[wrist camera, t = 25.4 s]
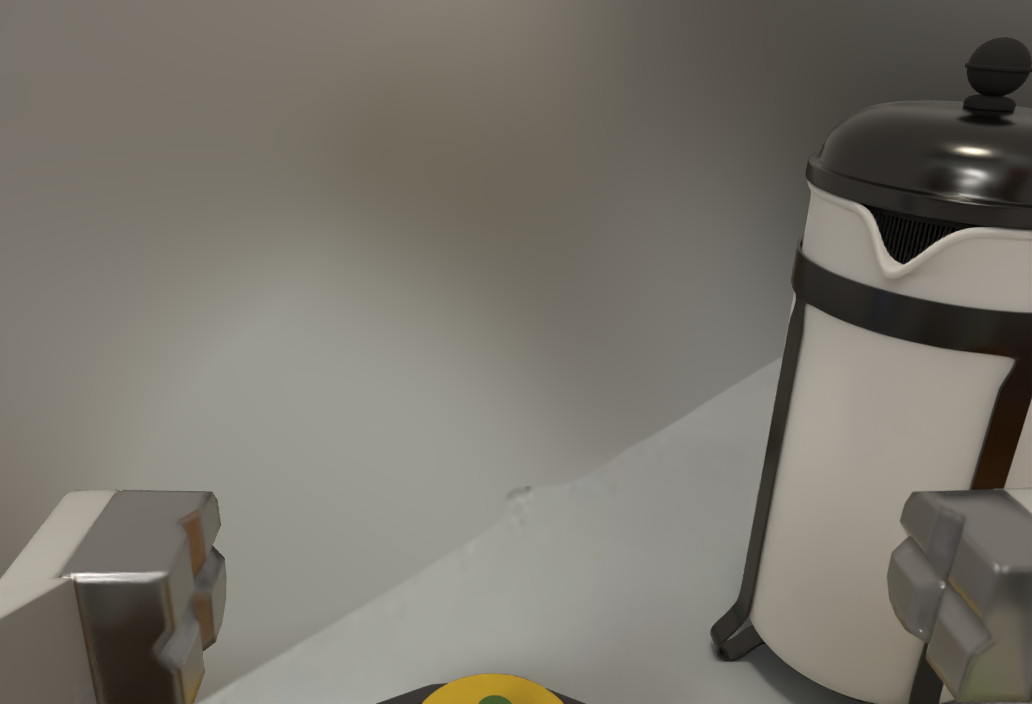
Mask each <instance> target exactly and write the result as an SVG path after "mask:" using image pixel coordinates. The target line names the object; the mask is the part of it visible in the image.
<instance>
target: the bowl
mask: <svg viewBox="0 0 1032 704" xmlns="http://www.w3.org/2000/svg"><path fill="white" fill-rule="evenodd" d="M446 684H448V683H443V684H433V685H430V686H425V687H422V688H420V689H417V690H414V691H411V692H408V693H405V694H402V695H400V696H397V697H394V698H391V699H388V700H385V701H382V702H379V703H377V704H422V703H423V702H424V700H426V699H427V698H428V697H429V696H430V695H431V694H432V693H434V692H435V691H436V690H438V689H439V688H441V687H443V686H444V685H446ZM546 689H547V688H546ZM547 690H549V689H547ZM549 691H550V692H552V693H553V694H554V695H555V696H557V697H558V698H559V699H560V700H561V701H562V702H563V703H564V704H585V703H582V702H580V701H577V700H575V699H572V698H570V697H567V696H564V695H562V694H559V693H557V692H554V691H552V690H549Z"/></svg>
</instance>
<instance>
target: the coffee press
mask: <svg viewBox="0 0 1032 704" xmlns="http://www.w3.org/2000/svg"><path fill="white" fill-rule="evenodd" d="M1031 64H1032V62H1031V56H1030V52H1029V51H1028V49H1027V47H1026V46H1025V45H1024V44H1023V43H1021V42H1020V41H1018V40H1015V39H1013V38H1007V37H1004V38H996V39H992V40H990V41H987V42H986V43H984V44H982V45H981V46H980V47H979V48H978V49H976V51H975V52H974V53H973V54H972V56H971V58H970V60H969V63H966V64H965V67H966V68H967V77H968V81H969V83H970V84H971V86H972V88H973V89H975V91H977V92H978V93H980V94H981V95H973V96H969V97H967V98H966V99H965V100H964V102H957V101H900V102H890V103H884V104H878V105H874V106H871V107H867V108H865V109H862V110H859V111H857V112H855V113H853V114H851V115H849V116H848V117H846V118H845V119H843V120H842V121H840V122H839V123H838V124H837V125H836V126H835V127H834V128H833V129H832V131H831V132H830V133H829V135H828V137H827V138H826V140H825V142H824V144H823V146H822V149H821V151H819V152H816V153H814V154H812V155H811V156H810V157H809V158H808V163H807V168H806V178H807V180H808V186H809V188H810V189H811V199H810V205H809V211H808V217H807V223H806V228H805V234H804V236H802V237H801V238H800V239H799V240H798V242H797V248H796V253H795V259H794V265H793V271H792V276H791V284H792V287H793V289H794V295H793V301H792V306H791V312H790V317H789V323H788V329H787V334H786V339H785V345H784V350H783V356H782V362H781V367H780V373H779V378H778V384H777V389H776V395H775V401H774V406H773V412H772V417H771V423H770V428H769V434H768V440H767V445H766V451H765V456H764V462H763V467H762V473H761V479H760V484H759V490H758V495H757V501H756V507H755V512H754V518H753V524H752V529H751V535H750V541H749V547H748V553H747V558H746V564H745V569H744V575H743V580H742V585H741V590H740V594H739V597H738V599H737V601H736V603H735V604H734V605H733V606H732V608H731V609H730V610H729V611H728V612H727V613H726V614H725V615H724V616H723V617H722V618H720V619H719V620H718V621H717V622H716V623H715V624H714V625H713V627H712V628H711V631H710V634H711V637H712V640H713V643H714V645H715V648H716V651H717V653H718V655H719V657H720V658H721V659H723V660H726V661H735V660H738V659H740V658H742V657H743V656H745V655H746V654H747V653H749V652H750V651H752V650H753V649H755V648H756V647H758V646H760V645H762V644H765V643H766V644H767V645H768V646H769V647H770V649H771V650H772V651H773V652H774V653H775V654H777V655H778V656H779V657H780V658H781V659H782V660H783V661H784V662H786V663H787V664H788V665H790V666H791V667H792V668H794V669H795V670H796V671H798V672H799V673H801V674H803V675H804V676H806V677H807V678H809V679H811V680H813V681H814V682H816V683H818V684H820V685H822V686H824V687H826V688H829V689H831V690H833V691H836V692H838V693H841V694H843V695H846V696H849V697H852V698H855V699H859V700H863V701H866V702H871V703H876V704H941V703H944V702H948V701H951V700H953V699H954V697H953V696H952V695H951V693H950V692H949V690H948V689H947V688H946V686H945V685H944V683H943V682H942V681H941V679H940V678H939V677H938V675H937V674H936V672H935V671H934V670H933V668H932V667H931V665H930V664H929V663H928V661H927V660H926V654H927V649H928V644H927V643H925V642H924V641H922V640H920V639H919V638H917V637H915V636H914V635H912V634H910V633H909V632H907V631H906V630H905V629H904V627H903V626H902V624H901V623H900V621H899V620H898V618H897V617H896V616H895V613H894V610H893V608H892V605H891V603H890V600H889V594H888V584H887V572H888V567H889V563H890V558H891V553H892V552H893V551H894V550H895V549H896V548H897V547H898V546H899V545H900V544H901V543H902V542H903V541H904V540H905V539H906V538H907V537H908V536H907V534H906V532H905V530H904V528H903V527H902V525H901V523H900V518H901V515H902V511H903V507H904V504H905V502H906V501H907V499H908V498H909V496H910V495H911V493H912V492H917V491H952V490H987V489H1007V488H1031V487H1032V108H1024V107H1016V104H1015V101H1014V100H1012V99H1010V98H1007V97H1003V96H1004V95H1007V94H1009V93H1011V92H1013V91H1015V90H1016V89H1018V88H1019V87H1020V86H1021V85H1022V84H1023V83H1024V82H1025V80H1026V79H1027V77H1028V75H1029V73H1030V72H1032V67H1031ZM748 616H749V618H750V620H751V622H752V624H753V625H752V626H750V627H748V628H747V629H745V630H743V631H742V632H741V633H739V634H738V635H736V636H735V637H734V638H732V639H730V640H727V639H728V638H729V637H730V636H732V635H733V634H734V633H735V632H736V631H737V630H738V629H739V628H740V627H741V626H742V624H743V623H744V622H745V621H746V619H747V617H748ZM726 640H727V641H726Z"/></svg>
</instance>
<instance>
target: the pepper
mask: <svg viewBox="0 0 1032 704" xmlns="http://www.w3.org/2000/svg"><path fill="white" fill-rule="evenodd" d="M422 704H564V703H563V702H562V701H561V700H560V699H559V698H558V697H557V696H555V695H554V694H553V693H552V692H550V691H549V690H547V689H546V688H544V687H542V686H541V685H539V684H537V683H535V682H532V681H530V680H527V679H524V678H521V677H517V676H512V675H506V674H479V675H473V676H468V677H464V678H461V679H458V680H455V681H453V682H450V683H448V684H446V685H444V686H443V687H441V688H439V689H438V690H436V691H435V692H434V693H432V694H431V695H430V696H429V697H428V698H427V699H426V700H424V702H423V703H422Z"/></svg>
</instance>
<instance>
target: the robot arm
mask: <svg viewBox="0 0 1032 704" xmlns="http://www.w3.org/2000/svg"><path fill="white" fill-rule="evenodd" d="M900 523H901V525H902V527H903V528H904V530H905V532H906V534H907V536H908V537H907V538H906V539H905V540H904V541H903V542H902V543H901V544H900V545H899V546H898V547H897V548H896V549H895V550H894V551H893V552H892V553H891V558H890V563H889V567H888V572H887V584H888V594H889V600H890V603H891V605H892V608H893V610H894V613H895V616H896V617H897V618H898V620H899V621H900V623H901V624H902V626H903V627H904V629H905V630H906V631H907V632H909V633H910V634H912V635H914V636H915V637H917V638H919V639H920V640H922V641H924V642H925V643H927V644H928V649H927V654H926V660H927V661H928V663H929V664H930V665H931V667H932V668H933V670H934V671H935V672H936V674H937V675H938V677H939V678H940V679H941V681H942V682H943V683H944V685H945V686H946V688H947V689H948V690H949V692H950V693H951V695H952V696H953V697H954V699H955V700H956V702H1026V703H1031V704H1032V487H1031V488H1007V489H987V490H952V491H917V492H912V493H911V495H910V496H909V498H908V499H907V501H906V502H905V504H904V507H903V511H902V515H901V518H900ZM220 526H221V522H220V514H219V507H218V501H217V498H216V497H215V495H214V494H213V492H206V491H149V490H145V491H144V490H143V491H142V490H123V491H119V490H76V491H72V492H69V493H67V494H66V495H65V496H64V497H63V498H62V500H61V501H60V502H59V504H58V505H57V506H56V507H55V509H54V510H53V511H52V513H51V514H50V515H49V516H48V518H47V519H46V521H45V522H44V523H43V524H42V526H41V527H40V528H39V530H38V531H37V532H36V533H35V535H34V536H33V537H32V539H31V540H30V541H29V542H28V544H27V545H26V546H25V548H24V549H23V550H22V551H21V553H20V554H19V556H18V557H17V558H16V559H15V561H14V562H13V563H12V564H11V566H10V567H9V569H8V570H7V571H6V572H5V574H4V575H3V576H2V578H0V704H193V703H194V700H195V698H196V695H197V692H198V690H199V687H200V684H201V681H202V678H203V676H204V673H205V669H204V661H203V651H204V650H206V649H207V648H208V647H210V646H211V645H212V644H214V643H215V642H216V639H217V637H218V634H219V631H220V627H221V625H222V621H223V614H224V608H225V601H226V567H225V558H224V557H223V556H222V555H221V554H220V553H219V552H218V551H217V550H216V549H215V548H214V546H213V543H214V541H215V538H216V536H217V533H218V531H219V529H220Z"/></svg>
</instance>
